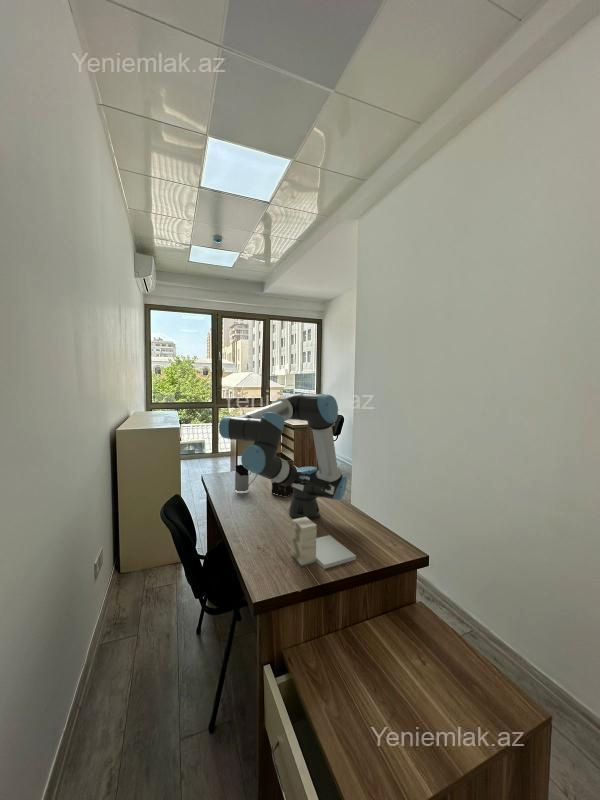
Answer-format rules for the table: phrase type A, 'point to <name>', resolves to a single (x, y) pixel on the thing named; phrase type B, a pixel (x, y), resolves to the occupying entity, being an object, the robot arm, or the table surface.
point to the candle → (281, 489)
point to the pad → (331, 552)
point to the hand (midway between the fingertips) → (317, 488)
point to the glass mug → (242, 478)
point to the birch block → (304, 541)
